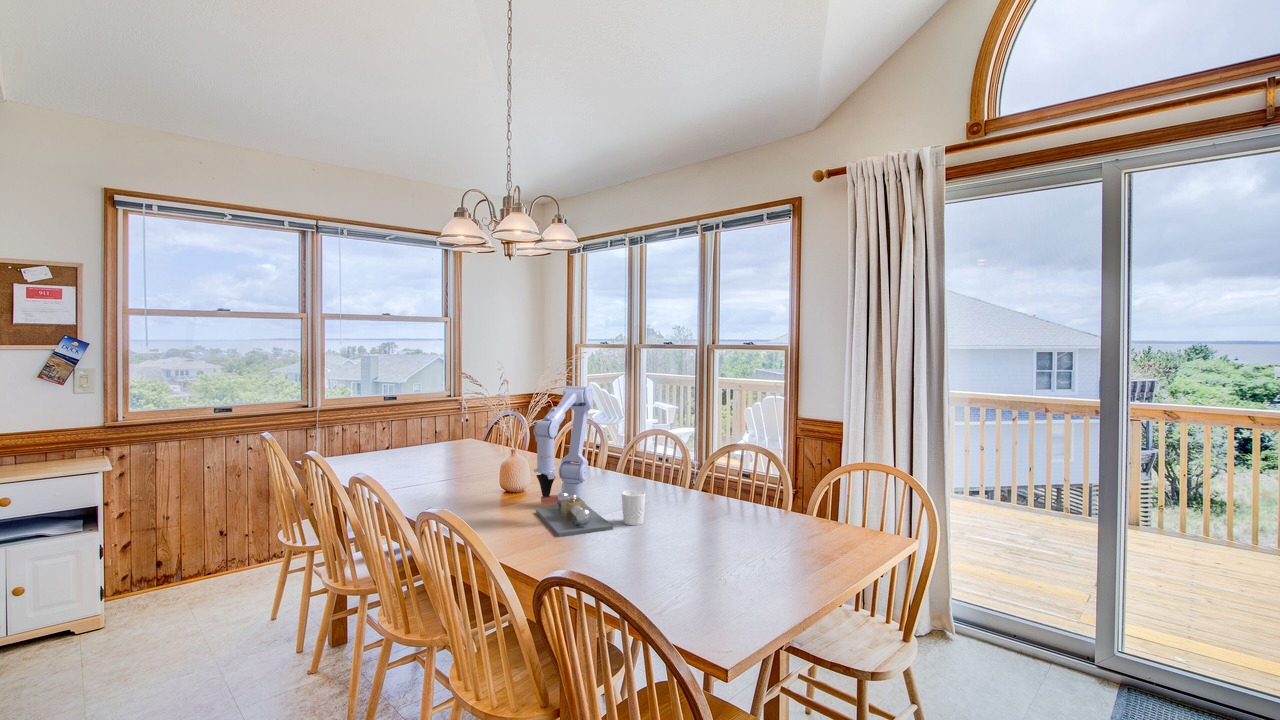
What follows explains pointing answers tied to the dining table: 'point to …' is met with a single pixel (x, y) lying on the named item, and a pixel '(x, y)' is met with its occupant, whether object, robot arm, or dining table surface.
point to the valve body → (574, 510)
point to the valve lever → (557, 498)
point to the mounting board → (566, 527)
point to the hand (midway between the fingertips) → (545, 496)
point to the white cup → (633, 507)
